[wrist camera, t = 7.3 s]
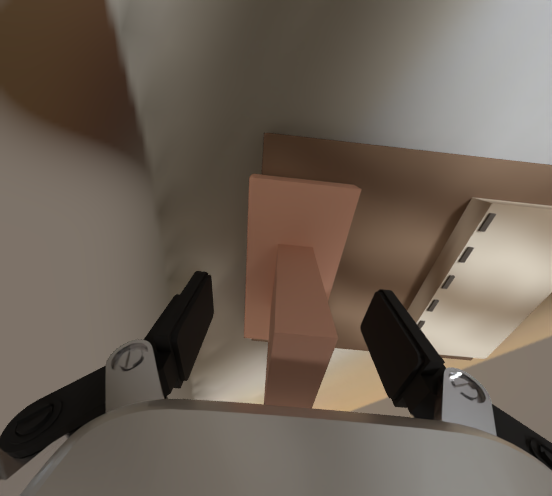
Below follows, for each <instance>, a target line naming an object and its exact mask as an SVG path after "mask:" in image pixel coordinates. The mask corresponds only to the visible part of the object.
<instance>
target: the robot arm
mask: <svg viewBox="0 0 552 496" xmlns="http://www.w3.org/2000/svg"><path fill="white" fill-rule="evenodd" d="M213 314H214V308H213V294H212V280H211V275H208V273H207V272H201V271H196V272H195V273H194V275H193V276H192V278H191V279H190V281H189V282H188V284H187V285H186V287H185V288H184V290H183V291H182V293H181V294H180V295H179V294H177V295H175V296H174V297H173V299H172V300H171V301H170V303H169V304H168V306H167V307H166V309H165V310H164V312H163V313H162V314H161V316H160V317H159V319H158V320H157V321H156V323H155V324H154V326H153V327H152V329H151V330H150V331H149V333H148V334H147V336H146V337H145V339H144V340H142V339H141V340H134V341H130V342H127V343H125V344H123V345H122V346H120V347H119V348H117V349H116V350H115V351H114V352H113V353H112V354H111V355H110V357H109V359H108V360H107V363H106V366H104V367H102V368H100V369H98V370H96V371H94V372H93V373H90V374H88V375H86V376H84V377H82V378H81V379H79V380H77V381H75V382H73V383H71V384H69V385H67V386H65V387H63V388H61V389H59V390H57V391H55V392H53V393H51V394H49V395H47V396H45V397H43V398H41V399H39V400H37V401H36V402H34V403H32V404H30V405H29V406H27V407H26V408H25V409H23V410H22V411H21V412H20V413H18V414H17V415H16V416H15V417H14V418H13V419H12V420H11V422H10V423H9V424H8V425H7V427H6V428H5V429H4V431H3V433H2V435H1V436H0V496H552V443H551V442H549V441H547V440H546V439H545V438H543V437H541V436H540V435H538V434H537V433H535V432H534V431H532V430H531V429H529V428H528V427H526V426H525V425H523V424H522V423H520V422H519V421H517V420H516V419H514V418H513V417H511V416H510V415H508V414H507V413H505V412H504V411H502V410H500V409H499V408H497V407H496V406H494V405H493V404H492V403H491V399H490V396H489V394H488V392H487V391H486V389H485V388H484V387H483V386H482V385H481V384H480V383H479V382H478V381H477V380H476V379H475V378H473V377H472V376H471V375H469V374H468V373H466V372H464V371H462V370H460V369H456V368H447V369H446V367H445V366H444V365H443V364H444V363H445V362H444V360H443V359H442V358H441V356H440V355H439V354H438V352H437V351H436V350H435V348H434V347H433V346H432V344H431V343H430V341H429V340H428V339H427V337H426V336H425V335H424V333H423V332H422V331H421V329H420V328H419V326H418V325H417V324H416V322H415V321H414V320H413V318H412V317H411V316H410V314H409V313H408V312H407V310H406V309H405V307H404V306H403V305H402V303H401V302H400V301H399V299H398V298H397V297H396V295H395V294H394V292H393V291H391V290H384V289H379V290H378V292H375V293H374V296H373V298H372V300H371V303H370V305H369V307H368V309H367V312H366V314H365V316H364V318H363V321H362V323H361V326H360V329H361V333H362V335H363V338H364V340H365V343H366V345H367V347H368V350H369V352H370V355H371V357H372V360H373V362H374V364H375V367H376V369H377V372H378V374H379V376H380V379H381V381H382V384H383V386H384V389H385V391H386V393H387V395H388V397H389V398H391V399H392V401H393V404H394V406H395V407H405V408H408V410H409V412H410V416H409V417H401V416H390V415H379V414H367V413H357V412H346V411H334V410H322V409H311V408H299V407H287V406H274V405H262V404H249V403H236V402H224V401H208V400H191V399H190V400H189V399H168V397H167V395H169V394H170V393H171V391H172V389H173V388H181V386H182V383H183V381H187V380H188V378H189V376H190V373H191V371H192V368H193V366H194V363H195V361H196V358H197V356H198V353H199V350H200V348H201V345H202V343H203V340H204V338H205V335H206V333H207V330H208V328H209V325H210V323H211V320H212V318H213Z"/></svg>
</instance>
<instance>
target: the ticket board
mask: <svg viewBox="0 0 552 496" xmlns="http://www.w3.org/2000/svg"><path fill="white" fill-rule="evenodd" d="M262 175H269V176H278V177H287V178H297V179H306V180H315V181H324V182H333V183H342V184H352V185H355V186H357V187H358V188H360V189H362V190H361V193H360V196H359V200H358V203H357V206H356V210H355V213H354V216H353V220H352V223H351V226H350V230H349V233H348V236H347V240H346V243H345V246H344V250H343V253H342V256H341V260H340V263H339V266H338V270H337V273H336V276H335V280H334V283H333V286H332V290H331V293H330V296H329V299H328V304H329V307H330V311H331V314H332V318H333V321H334V325H335V328H336V332H337V335H338V340H337V343H336V345H335V348H341V349H352V350H363V351H369V350H368V347H367V345H366V343H365V340H364V338H363V335H362V333H361V329H360V326H361V323H362V321H363V318H364V316H365V314H366V312H367V309H368V307H369V305H370V303H371V300H372V298H373V296H374V293H375V292H378V290H379V289H384V290H391V291H393V292H394V294H395V295H396V297H397V298H398V299H399V301H400V302H401V303H402V305H403V306H404V307H405V309H406V310H407V312H408V313H409V314H410V316H411V317H412V318H413V320H414V321H415V322H416V324H417V325H418V326H419V328H420V329H421V331H422V332H423V333H424V335H425V336H426V337H427V339H428V340H429V341H430V343H431V344H432V346H433V347H434V348H435V350H436V351H437V352H438V354H439V355H440V356H441V358H451V359H462V360H472V359H473V358H482V359H486V358H487V357H488V356H489V355H490V354H491V353H492V352H493V351H494V350H495V349H496V348H497V347H498V346H499V345H500V344H501V343H502V342H503V341H504V340H505V339H506V338H507V337H508V336H509V335H510V334H511V333H512V332H513V331H514V330H515V329H516V328H517V327H518V326H519V325H520V324H521V323H522V322H523V321H524V320H525V319H526V318H527V317H528V316H529V315H530V314H531V313H532V312H533V311H534V309H535V308H536V307H537V306H538V305H539V304H540V303H541V302H542V301H543V300H544V299H545V298H546V297H547V296H548V295H549V294H550V293H551V292H552V165H546V164H537V163H528V162H520V161H511V160H502V159H493V158H484V157H476V156H467V155H458V154H449V153H440V152H432V151H423V150H414V149H405V148H396V147H388V146H379V145H370V144H361V143H352V142H344V141H335V140H326V139H317V138H308V137H300V136H291V135H282V134H273V133H264V143H263V159H262ZM252 340H254V341H265V342H268V340H263V339H252Z"/></svg>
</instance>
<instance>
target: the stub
mask: <svg viewBox="0 0 552 496" xmlns="http://www.w3.org/2000/svg"><path fill="white" fill-rule="evenodd" d="M361 190H362V189H360V188H358V187H357V186H355V185H352V184H342V183H333V182H324V181H315V180H306V179H297V178H287V177H278V176H269V175H260V174H252V175H251V176H250V177H249V200H248V231H247V261H246V292H245V323H244V338H252V339H263V340H268V354H267V368H266V382H265V396H264V405H274V406H287V407H299V408H311V409H312V406H313V403H314V401H315V398H316V396H317V393H318V390H319V388H320V385H321V382H322V380H323V377H324V374H325V372H326V369H327V367H328V364H329V361H330V359H331V356H332V353H333V351H334V348H335V345H336V343H337V340H338V335H337V332H336V328H335V325H334V321H333V318H332V314H331V311H330V307H329V304H328V299H329V296H330V293H331V290H332V286H333V283H334V280H335V276H336V273H337V270H338V266H339V263H340V260H341V256H342V253H343V250H344V246H345V243H346V240H347V236H348V233H349V230H350V226H351V223H352V220H353V216H354V213H355V210H356V206H357V203H358V200H359V196H360V193H361Z"/></svg>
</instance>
